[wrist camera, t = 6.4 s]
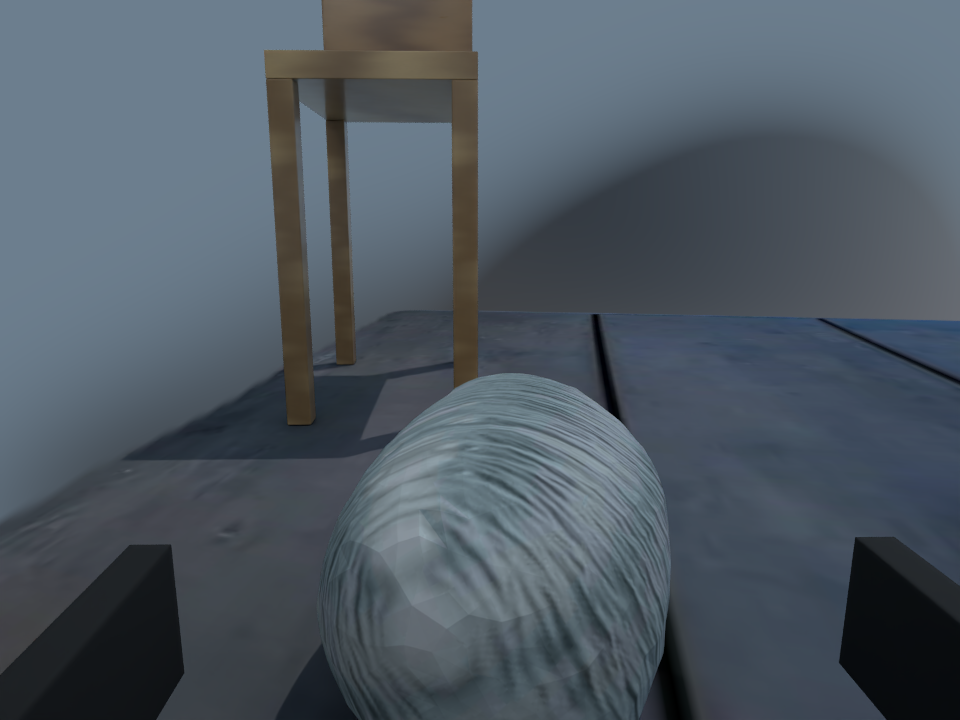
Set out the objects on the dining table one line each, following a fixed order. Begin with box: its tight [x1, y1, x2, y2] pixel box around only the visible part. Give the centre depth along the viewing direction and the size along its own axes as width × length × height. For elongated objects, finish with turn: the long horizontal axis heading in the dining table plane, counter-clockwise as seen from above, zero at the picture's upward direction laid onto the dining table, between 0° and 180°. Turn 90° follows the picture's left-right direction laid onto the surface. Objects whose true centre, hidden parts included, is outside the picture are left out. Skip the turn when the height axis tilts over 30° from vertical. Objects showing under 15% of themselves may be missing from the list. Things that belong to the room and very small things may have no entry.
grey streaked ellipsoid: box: [317, 373, 671, 720], centre depth 19 cm, size 14×10×10 cm
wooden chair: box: [264, 0, 478, 425], centre depth 47 cm, size 12×19×46 cm, turn 2°
